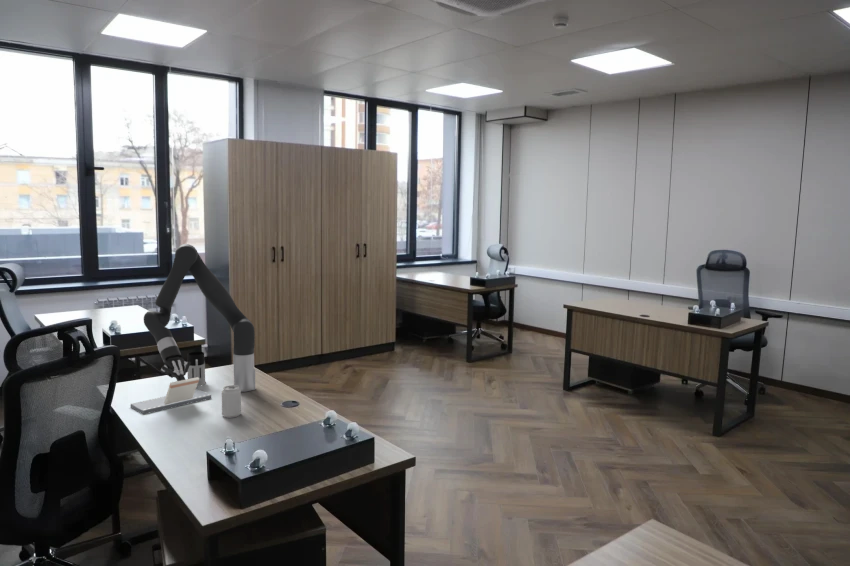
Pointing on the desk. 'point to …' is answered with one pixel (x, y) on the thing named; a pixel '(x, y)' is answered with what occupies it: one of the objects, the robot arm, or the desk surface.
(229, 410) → the can
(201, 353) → the glass holder
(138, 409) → the board
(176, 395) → the white square panel
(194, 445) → the desk surface
